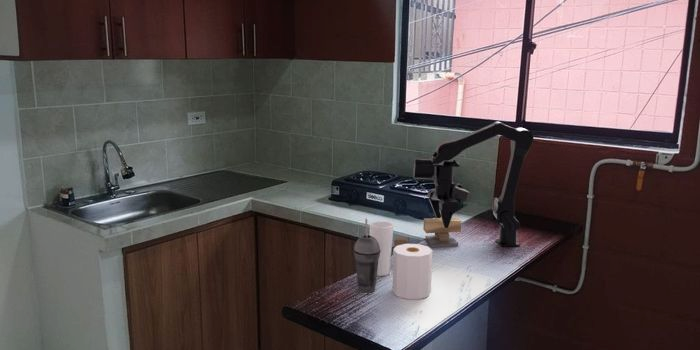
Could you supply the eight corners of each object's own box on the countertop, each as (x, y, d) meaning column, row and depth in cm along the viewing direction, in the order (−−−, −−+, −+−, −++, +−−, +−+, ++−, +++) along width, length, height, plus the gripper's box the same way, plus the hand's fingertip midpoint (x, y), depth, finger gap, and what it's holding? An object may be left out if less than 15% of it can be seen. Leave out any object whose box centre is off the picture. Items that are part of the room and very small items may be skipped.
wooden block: (406, 265, 175) (407, 240, 173) (393, 264, 176) (394, 239, 174) (408, 261, 178) (409, 236, 177) (396, 259, 180) (396, 235, 178)
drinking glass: (378, 267, 173) (378, 219, 170) (396, 272, 169) (397, 223, 166) (364, 273, 168) (364, 224, 165) (382, 279, 164) (383, 229, 161)
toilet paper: (407, 281, 163) (409, 240, 160) (438, 291, 156) (439, 249, 153) (384, 291, 155) (385, 249, 153) (415, 303, 148) (416, 259, 146)
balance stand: (458, 245, 193) (458, 234, 192) (432, 246, 192) (432, 235, 191) (450, 237, 202) (450, 226, 201) (425, 238, 201) (425, 227, 200)
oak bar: (460, 232, 195) (461, 220, 194) (426, 233, 193) (426, 221, 192) (457, 228, 199) (457, 217, 198) (423, 229, 197) (423, 218, 196)
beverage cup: (357, 297, 152) (358, 224, 147) (350, 286, 158) (350, 217, 154) (383, 294, 153) (385, 222, 149) (375, 284, 160) (376, 215, 156)
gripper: (476, 184, 184) (474, 231, 187) (458, 173, 202) (456, 215, 206) (443, 185, 183) (441, 232, 186) (428, 173, 201) (426, 216, 204)
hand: (442, 223), depth 196 cm, fingers open, 9 cm apart
